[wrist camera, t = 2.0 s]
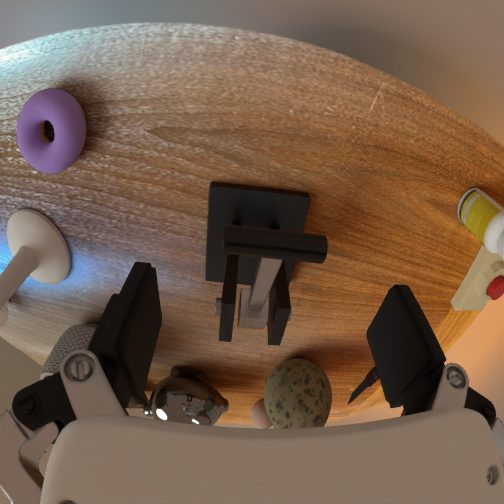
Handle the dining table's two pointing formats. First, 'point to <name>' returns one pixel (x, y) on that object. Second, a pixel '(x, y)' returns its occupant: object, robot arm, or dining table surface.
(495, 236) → the supplement bottle
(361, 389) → the knife
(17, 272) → the candlestick
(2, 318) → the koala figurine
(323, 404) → the decorative egg
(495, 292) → the button
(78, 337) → the planter
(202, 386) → the piggy bank
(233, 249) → the lever
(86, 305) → the dining table surface
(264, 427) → the egg
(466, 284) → the power block
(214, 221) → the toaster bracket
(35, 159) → the donut
